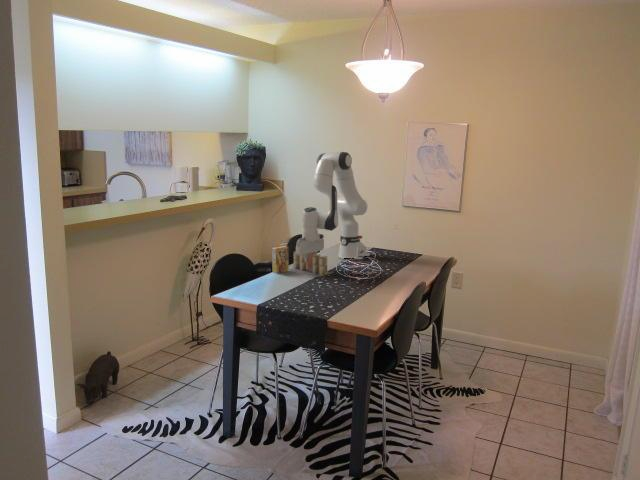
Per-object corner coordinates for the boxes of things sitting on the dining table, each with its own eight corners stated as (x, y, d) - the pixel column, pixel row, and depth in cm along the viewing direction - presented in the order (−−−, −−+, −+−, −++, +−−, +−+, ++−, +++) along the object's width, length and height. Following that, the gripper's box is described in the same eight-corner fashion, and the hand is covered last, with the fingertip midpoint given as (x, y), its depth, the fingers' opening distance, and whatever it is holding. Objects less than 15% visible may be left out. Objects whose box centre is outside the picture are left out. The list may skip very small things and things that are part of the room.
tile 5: (325, 273, 290) (325, 255, 288) (327, 273, 289) (327, 256, 287) (319, 274, 286) (319, 257, 284) (321, 275, 285) (321, 257, 283)
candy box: (284, 271, 298) (284, 245, 295) (289, 272, 295) (288, 246, 292) (272, 274, 293) (271, 247, 290) (276, 275, 289) (276, 249, 286)
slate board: (302, 267, 307) (302, 265, 306) (332, 274, 291) (332, 272, 291) (287, 271, 298) (287, 269, 298) (318, 279, 282) (318, 277, 282)
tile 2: (305, 268, 300) (305, 251, 298) (307, 269, 299) (307, 252, 297) (299, 270, 296) (299, 253, 294) (301, 270, 295) (301, 253, 293)
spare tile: (311, 267, 296) (311, 250, 294) (313, 267, 295) (313, 250, 293) (305, 268, 293) (305, 251, 291) (307, 269, 291) (307, 252, 289)
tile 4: (318, 271, 293) (318, 254, 291) (320, 272, 292) (320, 254, 290) (312, 273, 290) (312, 256, 288) (314, 273, 289) (314, 256, 287)
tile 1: (299, 267, 303) (299, 250, 301) (301, 267, 302) (301, 251, 300) (293, 268, 299) (293, 252, 297) (295, 269, 298) (295, 252, 296)
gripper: (301, 240, 280) (301, 264, 283) (325, 234, 295) (325, 258, 298) (292, 238, 285) (293, 262, 287) (317, 233, 300) (317, 256, 302)
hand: (309, 260), depth 293 cm, fingers closed on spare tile, 5 cm apart
